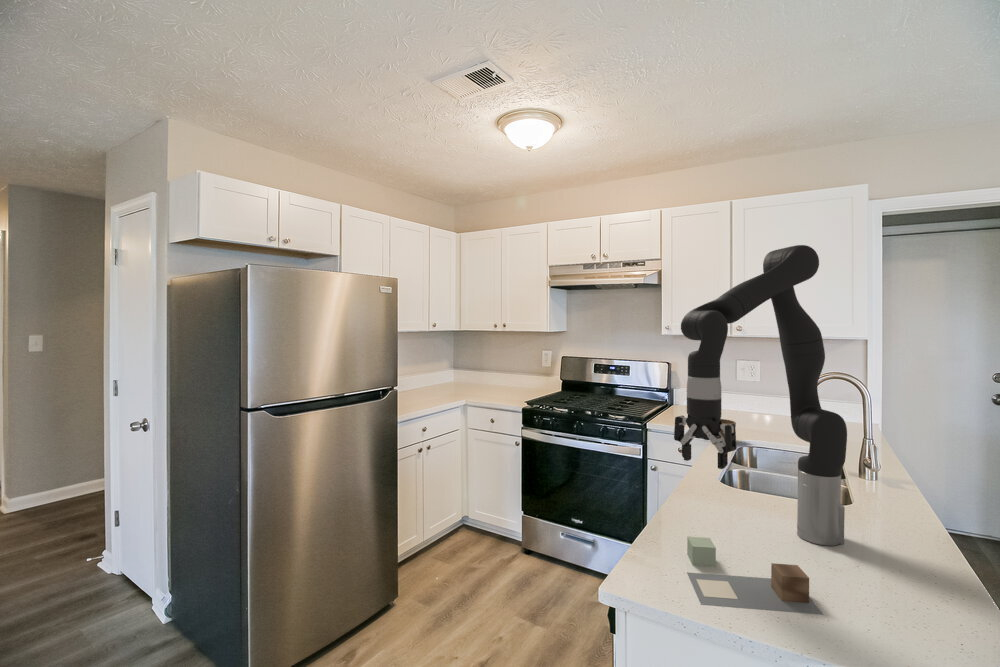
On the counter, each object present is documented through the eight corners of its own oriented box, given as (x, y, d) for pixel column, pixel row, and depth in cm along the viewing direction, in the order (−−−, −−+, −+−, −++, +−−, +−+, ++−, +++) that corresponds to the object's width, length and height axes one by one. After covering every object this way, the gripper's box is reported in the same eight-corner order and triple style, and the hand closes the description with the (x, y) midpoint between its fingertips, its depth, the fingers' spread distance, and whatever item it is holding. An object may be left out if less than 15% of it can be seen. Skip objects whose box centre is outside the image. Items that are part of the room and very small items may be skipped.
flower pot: (734, 440, 221) (734, 419, 220) (736, 447, 210) (737, 424, 210) (707, 438, 225) (707, 417, 225) (708, 444, 214) (708, 422, 214)
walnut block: (797, 588, 98) (797, 565, 98) (809, 603, 94) (809, 578, 93) (771, 586, 99) (771, 563, 99) (781, 600, 94) (781, 576, 94)
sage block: (709, 558, 113) (709, 537, 112) (715, 569, 108) (715, 547, 107) (687, 557, 113) (687, 536, 113) (692, 568, 108) (692, 546, 108)
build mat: (794, 582, 102) (794, 579, 102) (823, 617, 90) (823, 613, 90) (686, 575, 105) (686, 571, 105) (701, 607, 93) (701, 603, 93)
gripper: (742, 397, 109) (742, 468, 109) (685, 390, 120) (685, 454, 120) (725, 401, 104) (725, 474, 104) (667, 393, 115) (667, 460, 116)
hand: (703, 463), depth 112 cm, fingers open, 8 cm apart
